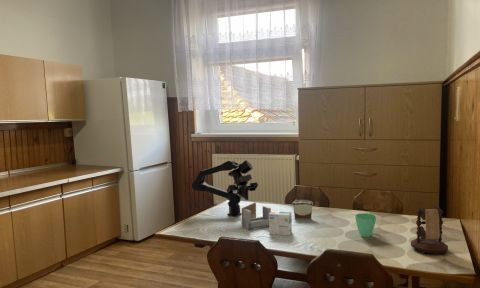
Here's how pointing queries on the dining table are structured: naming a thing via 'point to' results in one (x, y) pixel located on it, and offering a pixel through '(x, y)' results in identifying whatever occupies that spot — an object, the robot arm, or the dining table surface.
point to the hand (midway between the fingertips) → (247, 199)
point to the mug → (365, 223)
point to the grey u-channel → (255, 219)
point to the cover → (251, 208)
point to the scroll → (429, 231)
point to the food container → (302, 209)
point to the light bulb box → (280, 223)
